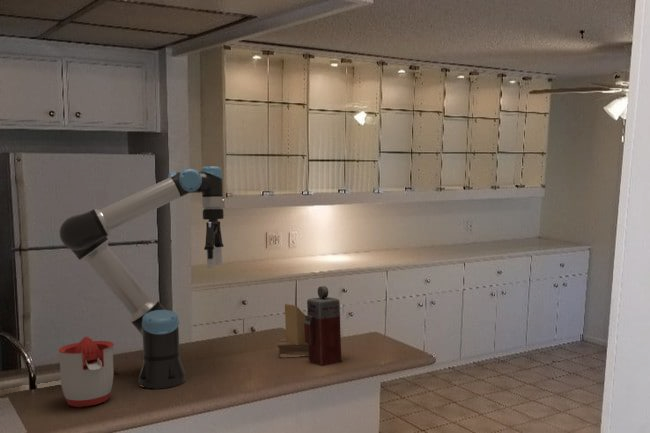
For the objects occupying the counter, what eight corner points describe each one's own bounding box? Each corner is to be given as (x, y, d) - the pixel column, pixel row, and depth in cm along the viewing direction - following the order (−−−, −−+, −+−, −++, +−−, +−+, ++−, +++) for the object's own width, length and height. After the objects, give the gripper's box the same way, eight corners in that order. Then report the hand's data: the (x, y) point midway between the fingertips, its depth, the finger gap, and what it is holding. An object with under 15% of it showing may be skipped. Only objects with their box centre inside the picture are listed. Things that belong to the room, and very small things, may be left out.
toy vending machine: (303, 362, 220) (300, 286, 220) (328, 357, 226) (326, 284, 226) (315, 367, 212) (313, 289, 212) (341, 362, 218) (339, 286, 218)
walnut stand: (327, 356, 227) (327, 343, 227) (278, 358, 227) (277, 345, 227) (327, 349, 239) (327, 337, 239) (280, 350, 239) (280, 338, 239)
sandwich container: (330, 339, 235) (329, 301, 235) (297, 345, 226) (296, 305, 226) (317, 335, 242) (316, 299, 242) (285, 341, 233) (284, 303, 233)
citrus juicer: (68, 415, 168) (66, 345, 168) (55, 401, 182) (52, 336, 182) (124, 403, 178) (121, 337, 177) (107, 390, 192) (105, 329, 191)
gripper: (216, 208, 206) (218, 269, 206) (228, 208, 231) (230, 262, 231) (195, 208, 206) (197, 269, 206) (209, 209, 231) (211, 263, 231)
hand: (214, 266), depth 218 cm, fingers open, 13 cm apart
